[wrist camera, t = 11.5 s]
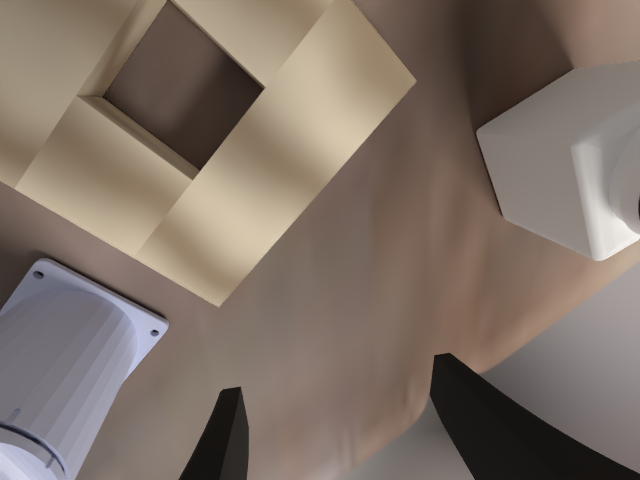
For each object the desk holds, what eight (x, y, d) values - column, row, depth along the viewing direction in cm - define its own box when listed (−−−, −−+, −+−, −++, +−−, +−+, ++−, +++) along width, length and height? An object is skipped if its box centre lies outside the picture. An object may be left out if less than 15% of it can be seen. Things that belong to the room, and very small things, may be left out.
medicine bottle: (502, 220, 23) (728, 325, 12) (472, 130, 20) (736, 157, 9) (591, 166, 22) (910, 222, 11) (574, 66, 19) (981, 12, 9)
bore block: (223, 285, 21) (218, 307, 18) (-72, 104, 15) (-133, 104, 12) (396, 84, 18) (416, 80, 16) (122, -242, 12) (90, -324, 10)
